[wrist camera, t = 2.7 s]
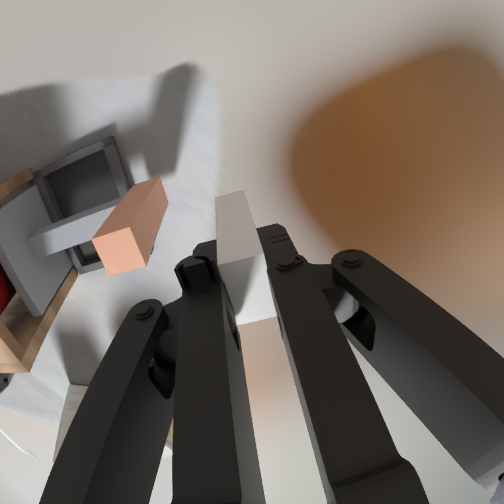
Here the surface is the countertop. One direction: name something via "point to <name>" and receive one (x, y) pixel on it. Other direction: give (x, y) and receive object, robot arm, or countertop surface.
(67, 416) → the skincare box
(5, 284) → the canned food
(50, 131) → the countertop surface
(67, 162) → the tray
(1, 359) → the tunnel
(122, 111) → the countertop surface
